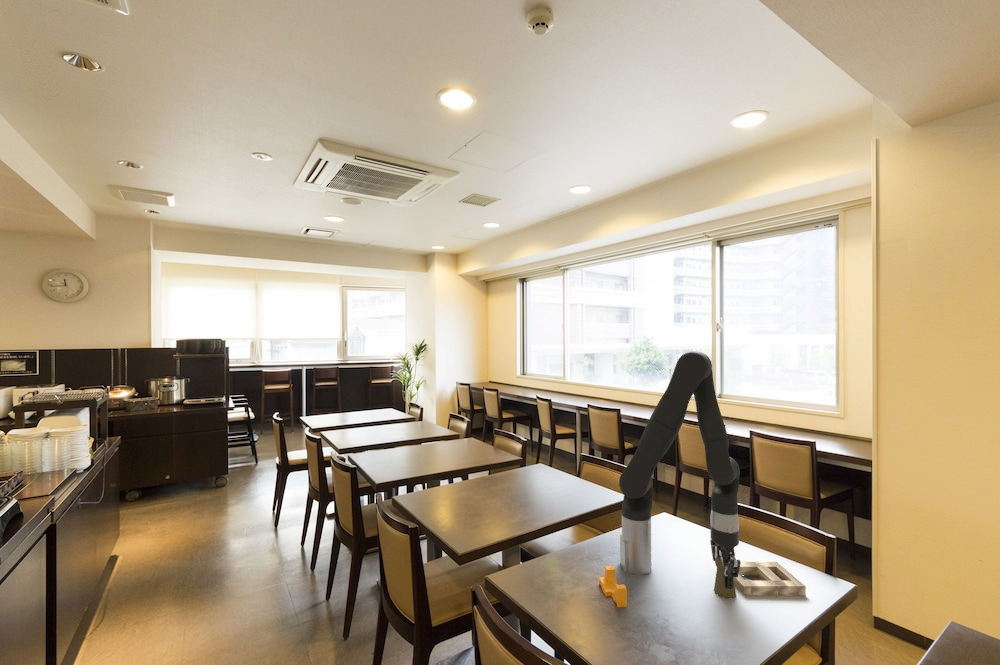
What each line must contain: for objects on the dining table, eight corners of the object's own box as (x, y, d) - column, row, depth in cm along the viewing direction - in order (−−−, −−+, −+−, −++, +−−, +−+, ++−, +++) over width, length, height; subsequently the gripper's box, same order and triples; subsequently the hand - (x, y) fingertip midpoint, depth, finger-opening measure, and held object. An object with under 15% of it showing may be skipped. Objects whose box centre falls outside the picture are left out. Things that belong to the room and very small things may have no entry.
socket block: (743, 596, 132) (743, 586, 132) (720, 571, 146) (720, 561, 146) (805, 596, 132) (805, 586, 132) (776, 571, 146) (776, 561, 146)
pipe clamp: (599, 587, 137) (599, 566, 137) (613, 587, 138) (613, 566, 138) (611, 612, 125) (611, 588, 125) (626, 611, 126) (626, 588, 126)
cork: (718, 586, 137) (717, 550, 137) (739, 594, 133) (739, 557, 133) (710, 594, 133) (710, 557, 133) (732, 603, 129) (732, 564, 129)
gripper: (701, 516, 140) (701, 571, 140) (723, 536, 126) (723, 598, 126) (725, 515, 140) (725, 571, 140) (750, 536, 126) (750, 598, 126)
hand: (724, 583), depth 133 cm, fingers closed on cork, 4 cm apart
